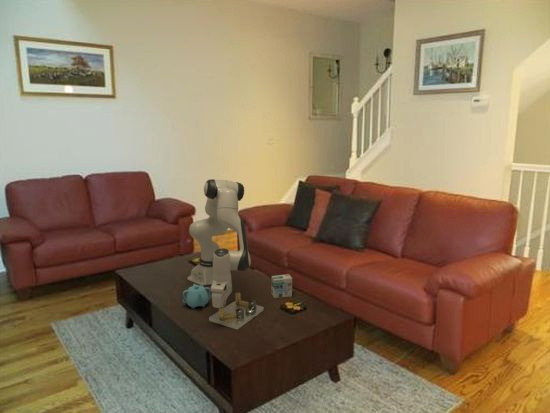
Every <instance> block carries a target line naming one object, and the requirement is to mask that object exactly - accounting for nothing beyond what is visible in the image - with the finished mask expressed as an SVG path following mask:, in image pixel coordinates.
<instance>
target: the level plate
mask: <svg viewBox="0 0 550 413" xmlns="http://www.w3.org/2000/svg"><path fill="white" fill-rule="evenodd" d="M238 308H242V309H244V316H243V317H241V318H238V317H232V318H226V319H223V320H220V319H219V310H218V311H216V312H215V313H214V314H212V315H210V316H209V318H208V321H209V322H210V323H211V322H212V323H215V324H218V325H221V326H224V327H228V328H230V329H234V330H237V331H238V330H240V328H242V327H243V326H244V325H246V324H247V323H249V322H250V321H251V320H252V319H254V318H256V317H257V316H259V314H261V313H262V312H264V308H265V306H261V305H258V304H256V308H254V309H250V308H249V307H248V306H244V305H240V304H236V300H235V301H232V302H231V303H229V304H228V305H226V307H225V308H224V314H230V313H236V309H238Z"/></svg>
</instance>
